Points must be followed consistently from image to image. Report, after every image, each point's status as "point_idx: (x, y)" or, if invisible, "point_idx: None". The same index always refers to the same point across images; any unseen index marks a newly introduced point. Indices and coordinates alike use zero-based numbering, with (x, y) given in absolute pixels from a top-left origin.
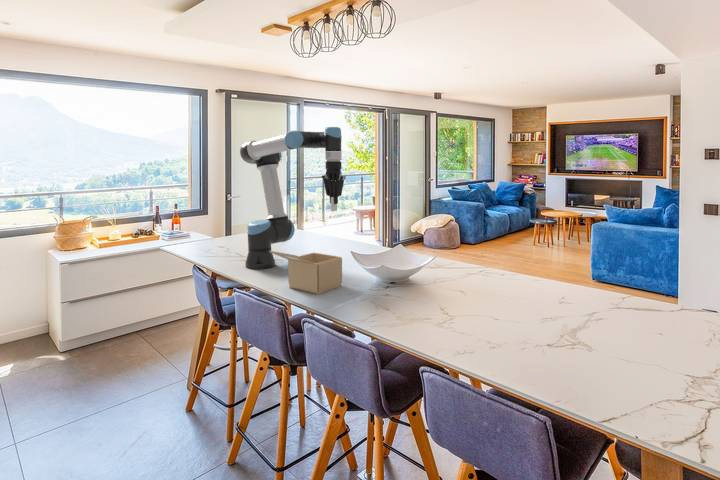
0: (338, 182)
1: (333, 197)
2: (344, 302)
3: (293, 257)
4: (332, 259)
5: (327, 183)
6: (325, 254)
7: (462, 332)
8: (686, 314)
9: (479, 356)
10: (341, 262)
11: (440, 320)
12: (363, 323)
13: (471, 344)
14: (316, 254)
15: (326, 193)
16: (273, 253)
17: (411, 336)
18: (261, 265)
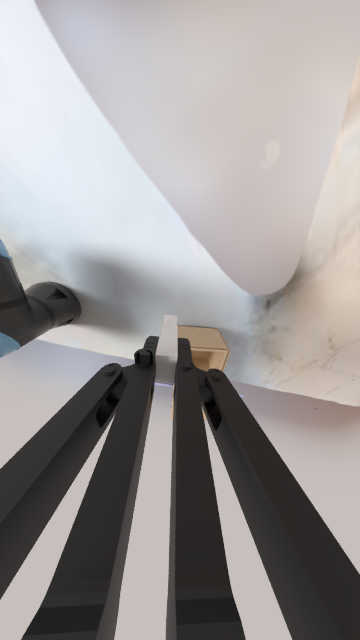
0: (281, 610)
1: (174, 380)
2: (240, 362)
3: (202, 410)
4: (223, 364)
5: (6, 557)
6: (197, 345)
7: (338, 370)
8: None
9: (341, 390)
10: (228, 348)
11: (325, 360)
12: (268, 384)
13: (340, 381)
14: None
15: (106, 401)
16: (172, 411)
17: (302, 386)
18: (75, 319)
